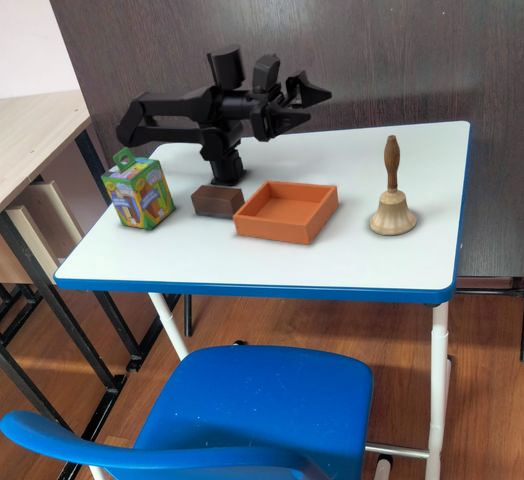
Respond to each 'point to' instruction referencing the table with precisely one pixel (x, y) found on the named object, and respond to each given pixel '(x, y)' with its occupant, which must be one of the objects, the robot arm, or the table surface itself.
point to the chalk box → (138, 190)
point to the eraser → (217, 201)
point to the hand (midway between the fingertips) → (321, 105)
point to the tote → (287, 211)
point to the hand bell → (392, 198)
